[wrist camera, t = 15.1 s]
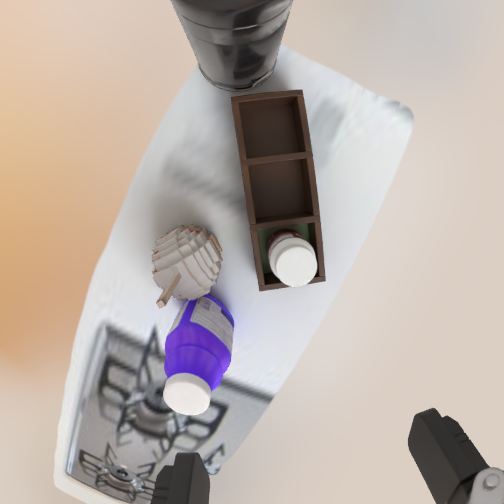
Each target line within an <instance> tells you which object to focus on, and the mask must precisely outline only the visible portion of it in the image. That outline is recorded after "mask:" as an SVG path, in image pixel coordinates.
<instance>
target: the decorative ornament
mask: <svg viewBox="0 0 504 504" xmlns="http://www.w3.org/2000/svg"><path fill="white" fill-rule="evenodd" d="M155 243H156V245H157V246H156V247H155V248H154V249H153V250H152V251H153V253H154V254H153V255H152V259H153V260H152V261H153V264H154V266H155V269H154V270H153V271H152V274H153V275H154V277H153V279H154V281H155V283H156V284H157V286H158V287H161V288H163V290H164V291H163V293H162V294H161V296H160V298H159V299H158V301H157V302H156V303H157V305H158V307H159V308H162V307H164V306H165V305H166V304H167V302H168V300H169V298H170V297H171V295H172V296H173V297H174V298H175V297H176V298H177V300H179V299H182V300H184V299H186V298H187V299H188V300H189V301H190V300H195V299H197V298H199V297H201V296H203V295H205V294H207V293H209V292H210V289H211V286H213V285H215V284H216V281H217V278H218V274H219V271H220V268H221V264H220V262H221V261H222V258H221V254H220V252H221V251H222V249H221V247H220V245H219V243H218V242H217V240H216V238H215V236H214V234H213V235H211V236H209V235H208V233H207V231H206V229H205V228H204V229H202V230H201V229H200V228H199V226H198V227H196V228H194V226H193V224H192V225H191V226H189V227H187V228H184V226H183V225H181V226H179V227H177V228H176V229H174V230H172V231H170V232H168V233H167V235H165V236H163V237H162V238H160V239H159V240H157V241H156V242H155Z"/></svg>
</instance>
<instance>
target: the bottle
mask: <svg viewBox="0 0 504 504" xmlns="http://www.w3.org/2000/svg"><path fill="white" fill-rule="evenodd" d="M233 331H234V320H233V318H232V316H231V314H230V312H229V311H228V310H227V308H226V307H225V306H224V305H223V304H222V303H221V302H219V301H218V300H217V299H215V298H214V297H212V296H210V295H208V294H205V295H203V296H201V297H199V298H197V299H195V300H190V301H189V300H187V301H186V302H185V303H184V304H183V306H182V307H181V309H180V311H179V313H178V315H177V317H176V319H175V321H174V323H173V325H172V327H171V329H170V331H169V333H168V336H167V338H166V343H165V353H166V356H167V357H166V360H165V364H164V370H165V373H166V375H167V377H168V378H167V381H166V384H165V388H164V392H163V397H164V400H165V402H166V403H167V405H168V406H169V407H170V408H172V409H173V410H174V411H176V412H178V413H181V414H185V415H197V414H200V413H202V412H204V411H205V410H206V409H207V408H208V406H209V404H210V398H211V393H212V390H214V389H215V388H217V387H218V386H219V384H220V382H221V380H222V377H223V374H224V373H225V372H226V370H227V368H228V367H229V365H230V362H231V355H232V343H233Z"/></svg>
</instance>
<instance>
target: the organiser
mask: <svg viewBox="0 0 504 504" xmlns="http://www.w3.org/2000/svg"><path fill="white" fill-rule="evenodd" d="M231 102H232V109H233V116H234V122H235V129H236V136H237V142H238V149H239V156H240V163H241V169H242V176H243V183H244V190H245V196H246V203H247V210H248V217H249V224H250V230H251V237H252V244H253V251H254V258H255V264H256V271H257V278H258V285H259V291H266V290H273V289H279V288H286V287H292V286H288V285H286V284H284V283H283V282H282V281H281V280H280V279H279V278H278V277H277V276H276V275H275V274H274V273H273V271H272V269H271V267H270V263H269V259H268V255H267V249H266V246H267V242H268V239H269V238H270V236H271V235H272V234H273V233H274V232H276V231H277V230H280V229H284V228H289V229H293V230H296V231H297V232H299V233H300V234H301V235H302V236H303V237H304V238H305V239H306V241H307V242H308V243H309V244H310V245H311V246H312V248H313V250H314V252H315V257H316V261H317V271H316V274H315V276H314V277H313V279H312V280H311V281H310V282H309V283H307V284H312V283H318V282H324V281H326V280H325V267H324V254H323V242H322V231H321V222H320V211H319V202H318V193H317V185H316V177H315V169H314V162H313V154H312V147H311V140H310V134H309V127H308V121H307V115H306V109H305V103H304V97H303V91H302V90H289V91H278V92H268V93H259V94H251V95H243V96H236V97H231Z"/></svg>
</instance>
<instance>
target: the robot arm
mask: <svg viewBox="0 0 504 504" xmlns="http://www.w3.org/2000/svg"><path fill="white" fill-rule="evenodd" d="M171 2H172V4H173V7H174V9H175V11H176V13H177V15H178V18H179V20H180V22H181V24H182V26H183V28H184V31H185V33H186V35H187V38H188V40H189V42H190V44H191V47H192V49H193V51H194V53H195V56H196V58H197V61H198V64H199V67H200V70H201V72H202V74H203V75H204V77H205V78H206V79H207V80H208V81H209V82H210V83H211V84H213V85H214V86H216V87H218V88H221V89H224V90H228V91H245V90H249V89H252V88H255V87H257V86H259V85H260V84H262V83H263V82H264V81H265V80H267V79H268V77H269V76H270V75H271V73H273V69H274V67H275V63H276V57H277V54H278V50H279V47H280V44H281V40H282V36H283V33H284V30H285V26H286V23H287V19H288V16H289V13H290V9H291V6H292V2H293V0H171ZM408 446H409V450H410V452H411V454H412V456H413V458H414V460H415V462H416V464H417V466H418V468H419V470H420V472H421V474H422V476H423V478H424V480H425V481H426V484H427V486H428V488H429V490H430V492H431V494H432V496H433V498H434V500H435V502H436V504H504V471H502V470H501V469H499V468H494V467H490V466H488V465H487V463H486V462H485V460H484V459H483V457H482V456H481V455H480V453H479V452H478V450H477V449H476V447H475V446H474V444H473V443H472V442H471V440H469V437H468V436H467V435H466V433H464V431H463V429H462V428H461V426H460V425H459V424H458V422H456V421H455V420H453V419H452V418H450V417H449V416H445V417H443V418H442V417H441V415H440V414H439V413H438V411H437V410H436V409H435V408H431V409H428V410H426V411H423V412H420V413H418V414H416V415H415V416H414V419H413V423H412V427H411V430H410V434H409V437H408ZM209 492H210V479H209V475H208V472H207V470H206V468H205V466H204V463H203V461H202V459H201V457H200V455H199V453H197V452H196V453H177V454H176V457H175V462H174V466H167V465H165V466H164V467H163V469H162V470H161V471H160V473H159V474H158V475H157V479H156V483H155V489H154V491H153V495H152V496H153V498H152V500H151V504H209Z"/></svg>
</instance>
